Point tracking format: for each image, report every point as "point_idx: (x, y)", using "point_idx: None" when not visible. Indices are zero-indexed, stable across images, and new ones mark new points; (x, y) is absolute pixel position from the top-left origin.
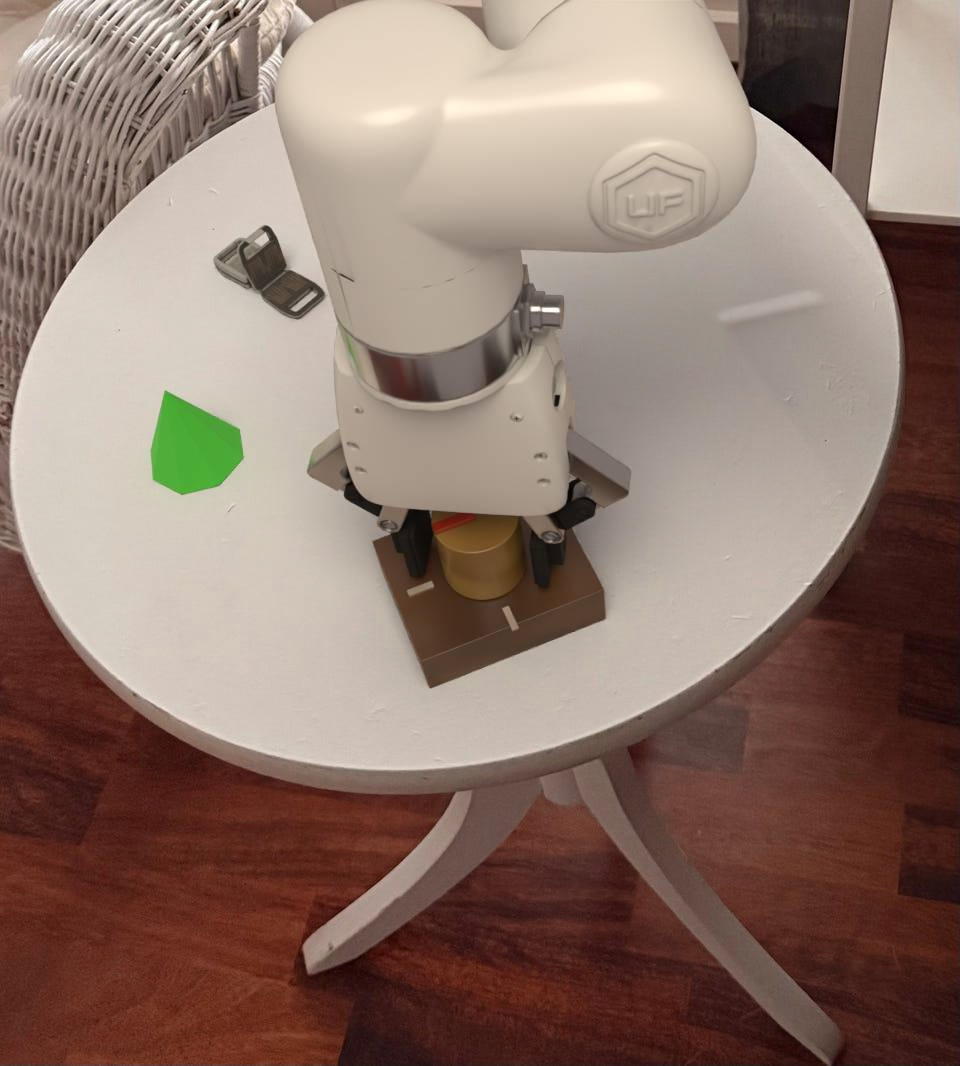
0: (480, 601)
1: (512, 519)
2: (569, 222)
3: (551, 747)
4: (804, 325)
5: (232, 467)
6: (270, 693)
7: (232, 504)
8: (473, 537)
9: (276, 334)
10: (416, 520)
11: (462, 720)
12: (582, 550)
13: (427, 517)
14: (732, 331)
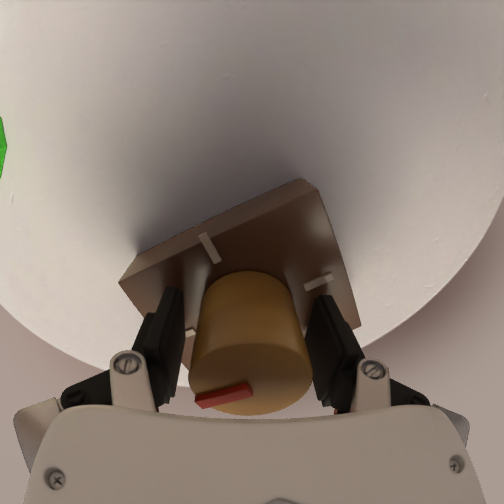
0: None
1: (303, 387)
2: None
3: None
4: (488, 36)
5: (2, 159)
6: (98, 345)
7: (11, 194)
8: (251, 404)
9: (23, 15)
10: (170, 384)
11: None
12: (350, 290)
13: (175, 323)
14: (452, 16)
